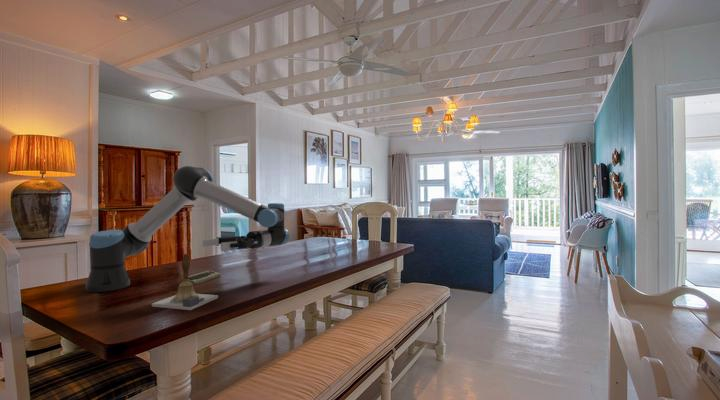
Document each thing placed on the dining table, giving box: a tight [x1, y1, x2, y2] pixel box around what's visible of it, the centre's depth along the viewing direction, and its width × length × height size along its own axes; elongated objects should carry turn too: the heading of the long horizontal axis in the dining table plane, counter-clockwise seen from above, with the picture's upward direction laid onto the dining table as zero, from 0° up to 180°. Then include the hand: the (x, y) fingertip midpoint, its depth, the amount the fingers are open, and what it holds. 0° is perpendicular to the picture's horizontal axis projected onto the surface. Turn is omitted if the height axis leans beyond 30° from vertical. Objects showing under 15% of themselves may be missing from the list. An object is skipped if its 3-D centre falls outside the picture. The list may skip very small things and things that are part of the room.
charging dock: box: [151, 293, 219, 311], centre depth 127 cm, size 16×14×3 cm
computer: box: [179, 270, 221, 286], centre depth 159 cm, size 16×8×3 cm, turn 160°
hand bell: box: [173, 253, 199, 302], centre depth 127 cm, size 8×8×16 cm
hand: (211, 244), depth 139 cm, fingers open, 13 cm apart
